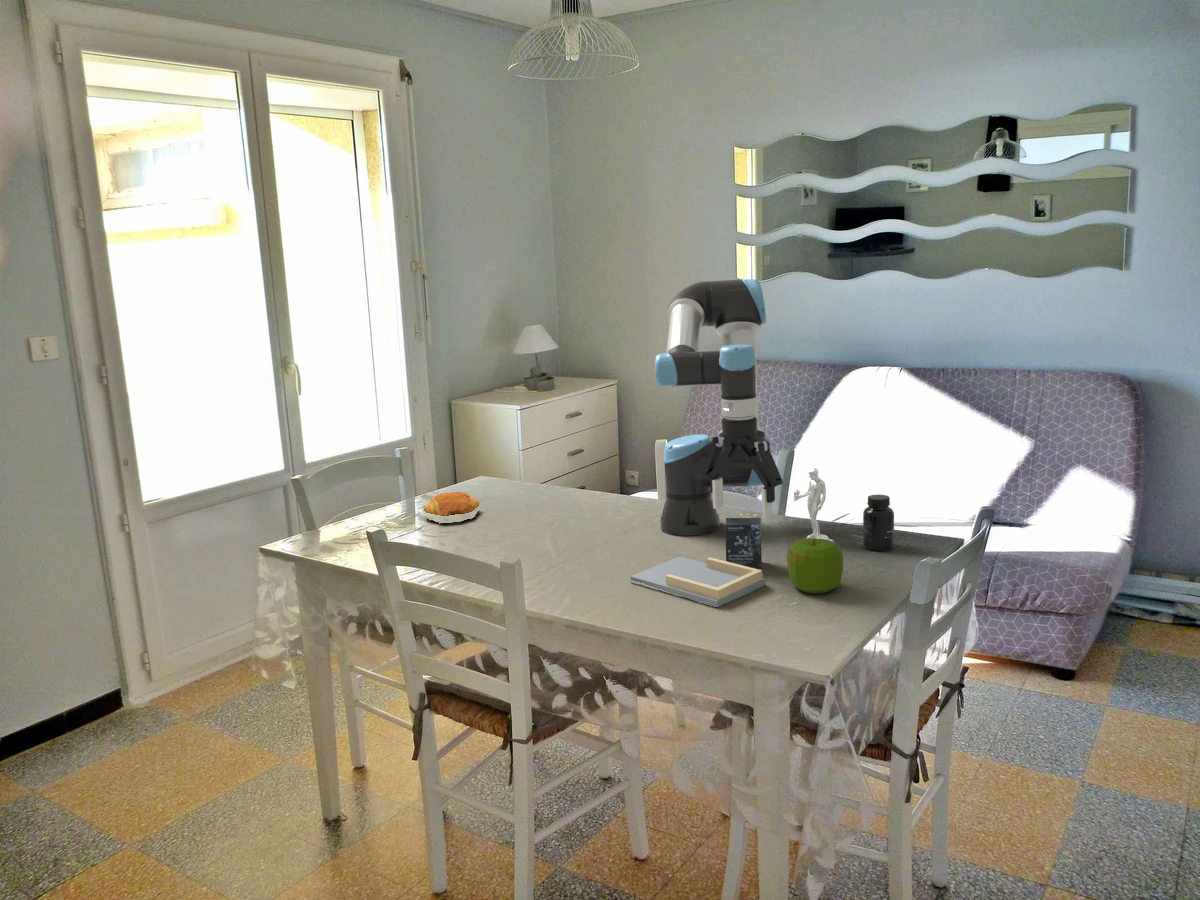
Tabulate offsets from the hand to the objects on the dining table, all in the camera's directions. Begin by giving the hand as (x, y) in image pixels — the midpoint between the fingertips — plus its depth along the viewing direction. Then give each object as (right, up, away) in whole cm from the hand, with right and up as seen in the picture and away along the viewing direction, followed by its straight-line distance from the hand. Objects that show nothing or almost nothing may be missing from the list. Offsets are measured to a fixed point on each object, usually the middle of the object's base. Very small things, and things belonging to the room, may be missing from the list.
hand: (742, 511), depth 210 cm
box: (+1, -12, +3) cm, 13 cm away
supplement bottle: (+33, -9, +10) cm, 35 cm away
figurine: (+19, -8, +16) cm, 27 cm away
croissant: (-73, -6, +57) cm, 92 cm away
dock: (-11, -15, -6) cm, 19 cm away
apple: (+13, -15, -13) cm, 24 cm away
